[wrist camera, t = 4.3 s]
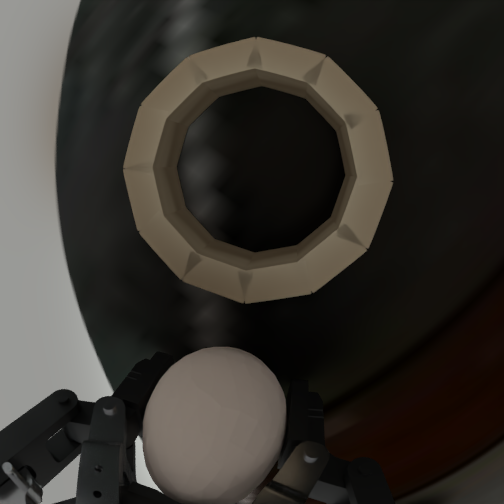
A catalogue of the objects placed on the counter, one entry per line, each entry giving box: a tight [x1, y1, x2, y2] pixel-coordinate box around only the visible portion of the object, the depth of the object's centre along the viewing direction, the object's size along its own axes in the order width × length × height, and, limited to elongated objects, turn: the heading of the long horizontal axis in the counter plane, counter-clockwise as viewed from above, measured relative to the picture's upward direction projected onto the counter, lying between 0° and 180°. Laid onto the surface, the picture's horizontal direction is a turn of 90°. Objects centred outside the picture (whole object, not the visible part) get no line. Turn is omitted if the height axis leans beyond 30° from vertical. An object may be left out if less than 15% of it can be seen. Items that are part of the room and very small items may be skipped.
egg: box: [143, 347, 287, 504], centre depth 10 cm, size 6×6×8 cm
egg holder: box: [123, 37, 393, 304], centre depth 10 cm, size 9×9×2 cm
